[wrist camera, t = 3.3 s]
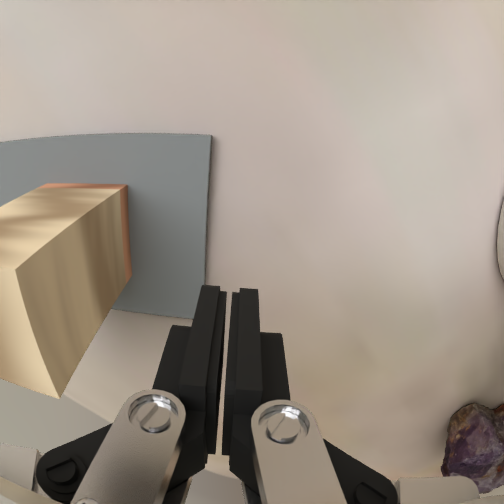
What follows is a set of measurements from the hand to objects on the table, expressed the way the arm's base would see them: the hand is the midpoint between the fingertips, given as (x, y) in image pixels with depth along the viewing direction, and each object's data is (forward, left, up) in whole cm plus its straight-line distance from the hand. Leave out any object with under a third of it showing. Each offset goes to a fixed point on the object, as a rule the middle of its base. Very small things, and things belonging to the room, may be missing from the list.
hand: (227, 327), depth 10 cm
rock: (-26, +19, -8) cm, 33 cm away
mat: (+11, 0, -7) cm, 13 cm away
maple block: (+8, 0, -7) cm, 11 cm away
